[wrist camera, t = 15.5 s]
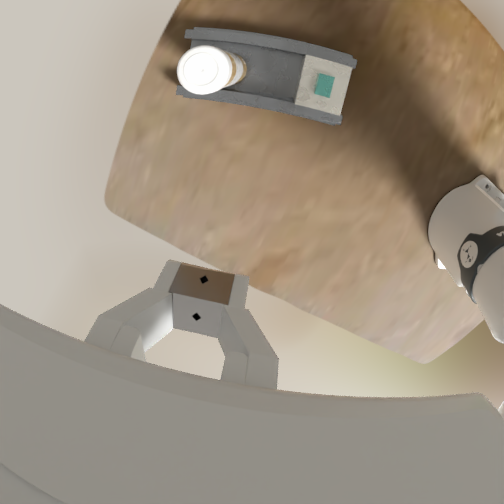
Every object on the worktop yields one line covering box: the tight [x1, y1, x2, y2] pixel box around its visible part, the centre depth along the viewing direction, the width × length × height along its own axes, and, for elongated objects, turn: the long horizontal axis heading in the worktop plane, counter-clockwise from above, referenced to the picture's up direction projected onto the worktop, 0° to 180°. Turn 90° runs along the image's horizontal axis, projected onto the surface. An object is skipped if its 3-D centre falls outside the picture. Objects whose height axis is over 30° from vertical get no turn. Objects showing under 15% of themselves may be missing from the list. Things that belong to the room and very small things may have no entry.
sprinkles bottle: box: [177, 45, 247, 95], centre depth 26 cm, size 5×5×13 cm
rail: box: [176, 27, 357, 126], centre depth 29 cm, size 20×10×8 cm, turn 80°
